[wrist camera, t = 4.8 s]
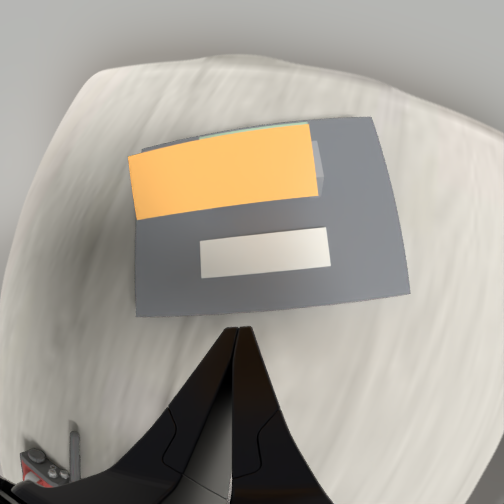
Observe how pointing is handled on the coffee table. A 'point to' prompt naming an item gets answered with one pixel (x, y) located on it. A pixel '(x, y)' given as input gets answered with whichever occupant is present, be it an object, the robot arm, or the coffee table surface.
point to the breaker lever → (224, 171)
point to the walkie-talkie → (51, 466)
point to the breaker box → (281, 238)
